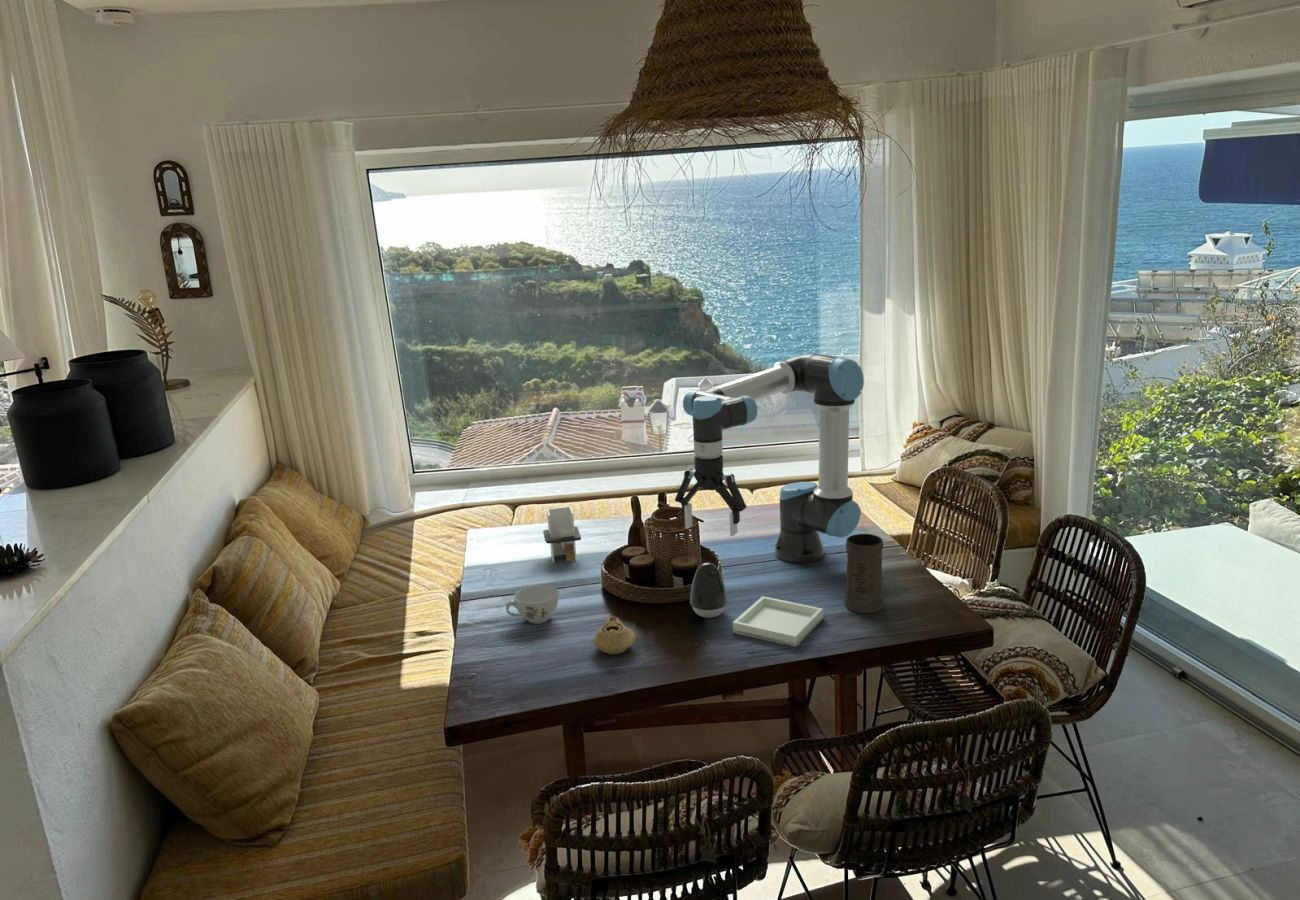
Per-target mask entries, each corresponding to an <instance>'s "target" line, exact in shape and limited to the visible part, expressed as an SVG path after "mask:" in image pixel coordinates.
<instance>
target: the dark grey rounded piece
mask: <svg viewBox="0 0 1300 900" xmlns="http://www.w3.org/2000/svg"><path fill="white" fill-rule="evenodd" d="M689 598H690V599H689V603H690V605H691V607H692V610H693V611H694V612H695V614H696V615H697V616H700V617H702V618H706V619H711V618H712V619H713V618H716V617H719V616H720V615H721V614H722V613H723V612H724V611H725V609H726V606H727V604H728V595H727V590H726V587H725V582H724V580H723V577H722V574H721V572H720V570H719V569H718V567H717V566H716V565H715V564H714V563H712V562H707V561H706V562H703V563H702V564H700V565H699V566H698V567H697V569H696V571H695V574H694V577H693V580H692V584H691V588H690V597H689Z"/></svg>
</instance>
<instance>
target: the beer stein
mask: <svg viewBox="0 0 1300 900" xmlns="http://www.w3.org/2000/svg"><path fill="white" fill-rule="evenodd" d="M845 548H846V555H847V556H846V557H847V562H846V589H845V591H844V596H845V598H844V601H843V604H844V607H845V608H846V609H848V610H849V611H852V612H854V613H859V614H872V613H876V612H877V613H878V612H879V611H881V610H883V608H884V606H885V602H884V599H883V597H884V591H883V575H882V574H883V570H882V569H883V568H882V567H883V565H882V564H883V561H882V560H883V559H882V558H883V549H884V541H883V539H882V538H881V537H880V536H878V535H875V534H870V533H858V534H853V535H850V536H847V539H846V542H845Z"/></svg>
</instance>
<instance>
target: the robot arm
mask: <svg viewBox="0 0 1300 900" xmlns="http://www.w3.org/2000/svg"><path fill="white" fill-rule="evenodd" d="M864 377H865V376H864V372H863V370H862V368H861V366H860V365H859V364H858V362H857V361H856V360H853V359H850V358H846V357H844V356H836V355H828V354H827V355H826V354H821V353H820V354H819V353H806V354H805V353H804V354H799V355H796V356H793V357H790V358H786V359H784V360H780V361H778V362H775V363H774V364H773V365H772V367H770V368H768V369H765V370H762V371H757V372H756V373H753V374H750V375H747V376H743V377H741V378H737V379H735V380H732V381H729V382H726V383H723V384H720V385H718V386H715V387H711V388H708V389H706V390H701V389H691V390H688V391H687V392H686V393H685V395H684V396H683V400H682V407H683V410H684V412H685V414H687V415H688V416H691V417H692V428H693V429H692V432H693V433H692V434H693V454H694V455H695V456H694V458H693V459H694V470H693V468H688V469H686V470H684V473H683V480H682V482H681V485H680V487H679V489H678V491H677V493H676V496H675V497H674V501H675V502H676V503H680V504H681V515H682V516H683V517H684V526H685V527H684V529H689V528H691V527H693V510H692V509H693V508H692V507H693V505H692V502H690V501H691V499H692V498H694V496H695V495H696V494H697V492H699V490H700V489H701V488H702V489H703V490H710V491H715V492H716V493H718V495H720V497H721V499H723V501H724V502H725V503H726V505H727V506H728V507H729V509H730V510H731V511H730V512H729V535H730V537H733V536H735V535H736V534H738V524H739V522H740V521H741V516H740V515H741V512H743V511H744V510H746V509H747V503H745V500H744V498H743V496H742V494H741V492H740V490H739V486H738V485H737V483H736V479H735V475H734V474H733V473H730V474H724V471H723V469H724V456H723V455H722V454H723V453H724V449H723V431H724V430H727V429H733V428H735V427H741V426H745V425H747V424H750V423H752V422H753V421H755V420H756V418H757V416H758V406H757V402H756V401H759V400H762V399H765V398H767V397H769V396H770V397H771V396H773V395H776V394H778V393H782V394H789V393H792V392H805V393H810V394H813V404H815V406H817V408H818V409H819V410H818V412H819V414H818V415H819V418H818V425H819V426H818V428H819V429H818V484H817V483H816V482H811V481H798V482H791V483H788V484H784V486H782V487H781V489H780V491H779V523H780V527H779V529H780V531H779V534H778V537H777V540H776V542H775V547H774V555H775V556H776V558H778V559H780V560H782V561H784V562H788V563H798V564H799V563H800V564H801V563H811V562H815V561H817V560H820V559H821V558H823V557H824V545H823V542H822V540H821V536H820V533H823V534H824V535H828V536H829V537H835V538H841V539H842V538H846V537H849V535H851V534H852V533H853V532H855V529H856V528H857V526H858V525H859V522H860V520H861V513H862V510H861V506H860V505H859V504H858V503H857V501H855V500H853V499H854V497H853V495H854V494H853V489H852V488H850V487H849V486H848V484H849V483H848V481H849V480H848V479H849V476H848V475H849V444H850V443H849V439H850V438H849V437H850V436H849V434H850V433H849V431H850V428H849V427H850V409H851V407H852V406H854V405H855V403H856V402H855V401H856V399H857V398H859V397H860V395H861V393H862V392H861V391H863V388H864V384H865V381H864V380H865V378H864ZM693 478H694V479H695V480H696V482H695V483H694V485H693V486H692V488H691V489H690V490H689V492H687V490H688V488H689V486H690V483H691V481H692V479H693ZM727 488H728V489H727ZM686 492H687V494H686ZM685 494H686V495H685Z"/></svg>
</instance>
